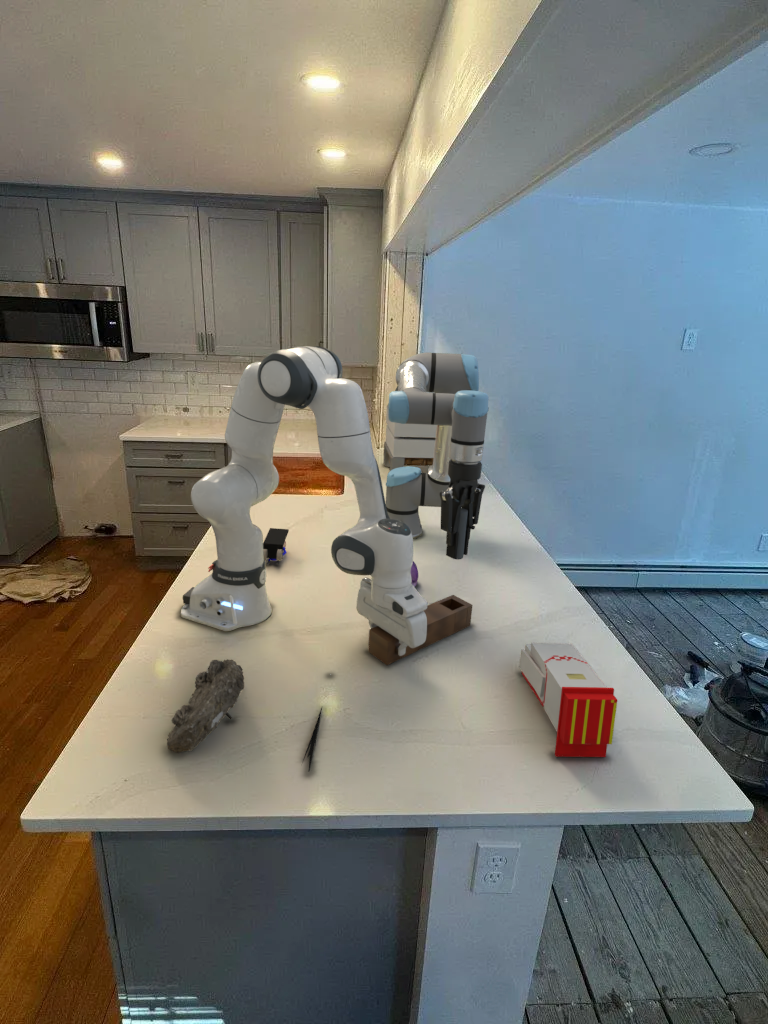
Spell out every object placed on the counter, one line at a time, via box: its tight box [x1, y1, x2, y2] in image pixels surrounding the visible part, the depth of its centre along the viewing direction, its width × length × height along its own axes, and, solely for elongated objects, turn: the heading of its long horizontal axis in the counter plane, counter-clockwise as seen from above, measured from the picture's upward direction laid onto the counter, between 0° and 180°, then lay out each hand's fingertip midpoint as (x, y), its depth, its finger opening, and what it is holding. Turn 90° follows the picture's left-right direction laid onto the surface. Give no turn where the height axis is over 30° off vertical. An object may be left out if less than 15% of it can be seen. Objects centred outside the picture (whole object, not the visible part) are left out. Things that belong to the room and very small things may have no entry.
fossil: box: [166, 658, 245, 754], centre depth 106 cm, size 22×10×15 cm
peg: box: [451, 507, 468, 561], centre depth 135 cm, size 3×3×12 cm
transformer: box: [383, 385, 437, 472], centre depth 268 cm, size 34×33×41 cm
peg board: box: [368, 594, 474, 666], centre depth 136 cm, size 28×7×6 cm, turn 131°
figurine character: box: [263, 527, 290, 566], centre depth 175 cm, size 7×8×15 cm
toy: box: [518, 642, 618, 758], centre depth 113 cm, size 12×13×30 cm
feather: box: [301, 673, 332, 771], centre depth 108 cm, size 2×28×2 cm
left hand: (388, 645), depth 130 cm, fingers open, 7 cm apart
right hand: (456, 554), depth 137 cm, fingers closed on peg, 3 cm apart
